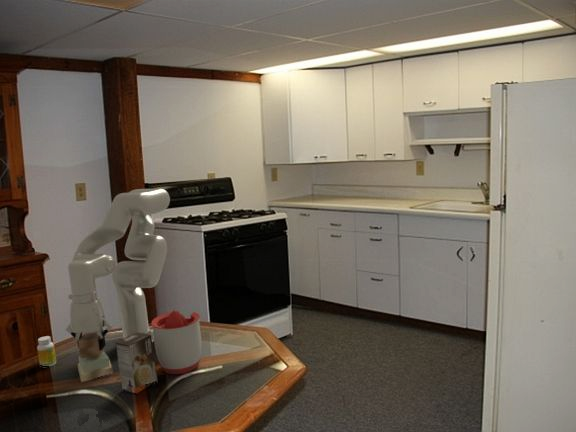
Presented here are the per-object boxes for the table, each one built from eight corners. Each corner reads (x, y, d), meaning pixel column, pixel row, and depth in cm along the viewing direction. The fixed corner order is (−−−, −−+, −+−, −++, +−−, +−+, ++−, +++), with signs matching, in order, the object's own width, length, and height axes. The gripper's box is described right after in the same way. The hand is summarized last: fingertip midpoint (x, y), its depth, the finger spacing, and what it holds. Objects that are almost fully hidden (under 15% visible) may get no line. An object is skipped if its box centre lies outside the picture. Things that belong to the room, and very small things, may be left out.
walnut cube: (80, 358, 178) (78, 340, 177) (87, 350, 184) (85, 333, 183) (98, 356, 178) (96, 339, 177) (105, 349, 184) (102, 332, 183)
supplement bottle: (50, 367, 188) (46, 341, 187) (36, 367, 190) (32, 341, 188) (59, 361, 194) (55, 335, 192) (46, 360, 195) (42, 335, 193)
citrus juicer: (214, 356, 188) (209, 301, 184) (190, 380, 172) (183, 320, 168) (175, 353, 193) (169, 299, 189) (147, 376, 177) (140, 317, 173)
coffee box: (143, 378, 176) (137, 331, 173) (158, 381, 172) (152, 334, 169) (121, 391, 168) (115, 342, 165) (136, 395, 165) (129, 345, 162)
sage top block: (104, 357, 188) (102, 349, 187) (109, 365, 181) (108, 357, 180) (79, 364, 184) (78, 356, 183) (84, 373, 177) (83, 364, 176)
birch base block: (109, 364, 189) (108, 356, 189) (113, 375, 180) (112, 367, 180) (78, 371, 185) (77, 363, 185) (81, 383, 176) (80, 375, 176)
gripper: (53, 302, 174) (62, 355, 177) (107, 299, 174) (114, 352, 177) (63, 295, 182) (71, 346, 185) (114, 292, 181) (121, 343, 184)
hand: (92, 348), depth 181 cm, fingers closed on walnut cube, 5 cm apart
